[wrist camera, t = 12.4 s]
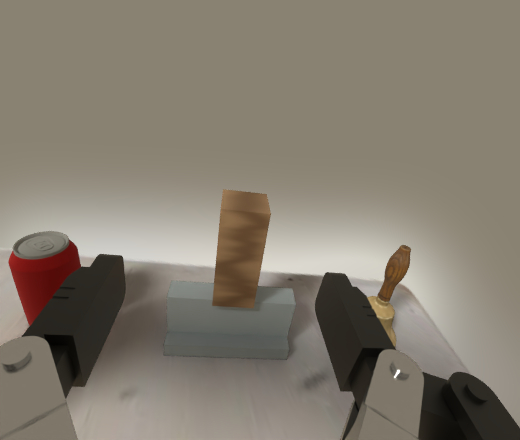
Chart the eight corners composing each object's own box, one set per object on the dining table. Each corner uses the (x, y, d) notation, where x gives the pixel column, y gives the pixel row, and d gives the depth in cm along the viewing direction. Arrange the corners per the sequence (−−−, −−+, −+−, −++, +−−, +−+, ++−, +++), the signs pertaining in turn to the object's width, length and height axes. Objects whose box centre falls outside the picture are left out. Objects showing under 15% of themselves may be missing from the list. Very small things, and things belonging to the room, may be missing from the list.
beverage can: (71, 291, 43) (57, 222, 38) (98, 313, 41) (87, 243, 35) (18, 318, 38) (-8, 243, 32) (45, 346, 35) (22, 268, 30)
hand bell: (396, 363, 40) (447, 274, 33) (338, 340, 43) (373, 252, 35) (394, 322, 48) (435, 242, 40) (344, 304, 50) (374, 224, 42)
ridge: (163, 355, 36) (162, 309, 33) (174, 313, 42) (174, 270, 39) (286, 359, 38) (299, 316, 35) (279, 318, 45) (289, 278, 41)
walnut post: (212, 305, 34) (220, 208, 28) (215, 278, 39) (223, 189, 33) (253, 308, 35) (270, 213, 29) (251, 281, 39) (266, 194, 33)
